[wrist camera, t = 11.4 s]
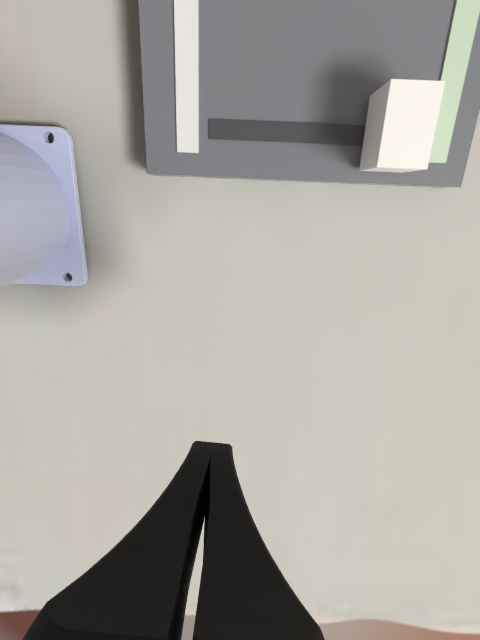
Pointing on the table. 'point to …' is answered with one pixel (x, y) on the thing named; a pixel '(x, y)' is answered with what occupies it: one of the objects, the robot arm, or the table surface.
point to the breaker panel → (300, 85)
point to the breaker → (401, 125)
